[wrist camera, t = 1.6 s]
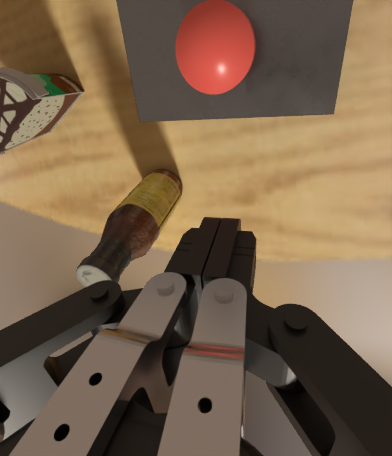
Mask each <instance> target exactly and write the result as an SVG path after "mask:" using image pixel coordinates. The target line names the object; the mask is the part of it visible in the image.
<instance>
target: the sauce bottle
mask: <svg viewBox="0 0 392 456" xmlns="http://www.w3.org/2000/svg"><path fill="white" fill-rule="evenodd" d="M181 195H182V185H181V183H180V181H179V180H178V178H177V177H176V176H175V175H174V174H172V173H171V172H169V171H166V170H155V171H153V172H152V173H150V174H149V175H147V176H145V177H144V178H143V180H142V181H141V182H140V183H139V184H138V185H137V186H136V187H135V188H134V189H133V190H132V191H131V192H130V194H129V195H128V196H127V197H126V198H125V199H124V200H123V201H122V202H121V203H120V204H119V206H117V208H116V209H115V210H114V211H113V212H112V213H111V214H110V215H109V217H108V219H107V222H106V225H105V228H104V231H103V234H102V237H101V241H100V243H99V244H98V246H97V248H96V249H95V250H94V251H93V252H92V253H91V254H90V256H88V257H86V258H85V259H84V260H83V261H82V262H81V263H80V265H79V266H78V267H77V270H76V273H77V274H76V275H77V278H78V280H79V281H80V282H81V283H82V284H83V285H84V286H85V287H87V286H89V285H91V284H94V283H96V282H99V281H103V280H111V281H115V282H117V283H118V282H119V278H120V275H121V274H122V272H123V271H124V269H125V268H126V267H127V266H128V264H129V263H130V261H132V260H134V259H136V258H139V257H142V256H144V255H145V254H146V253H147V252H148V251H149V249H150V248H151V246H152V244H153V243H154V241H155V240H156V239H157V238H158V236H159V235H160V233H161V231H162V230H163V228H164V226H165V225H166V223H167V221H168V220H169V218H170V216H171V215H172V213H173V211H174V210H175V208H176V207H177V205H178V203H179V201H180V198H181Z"/></svg>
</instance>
